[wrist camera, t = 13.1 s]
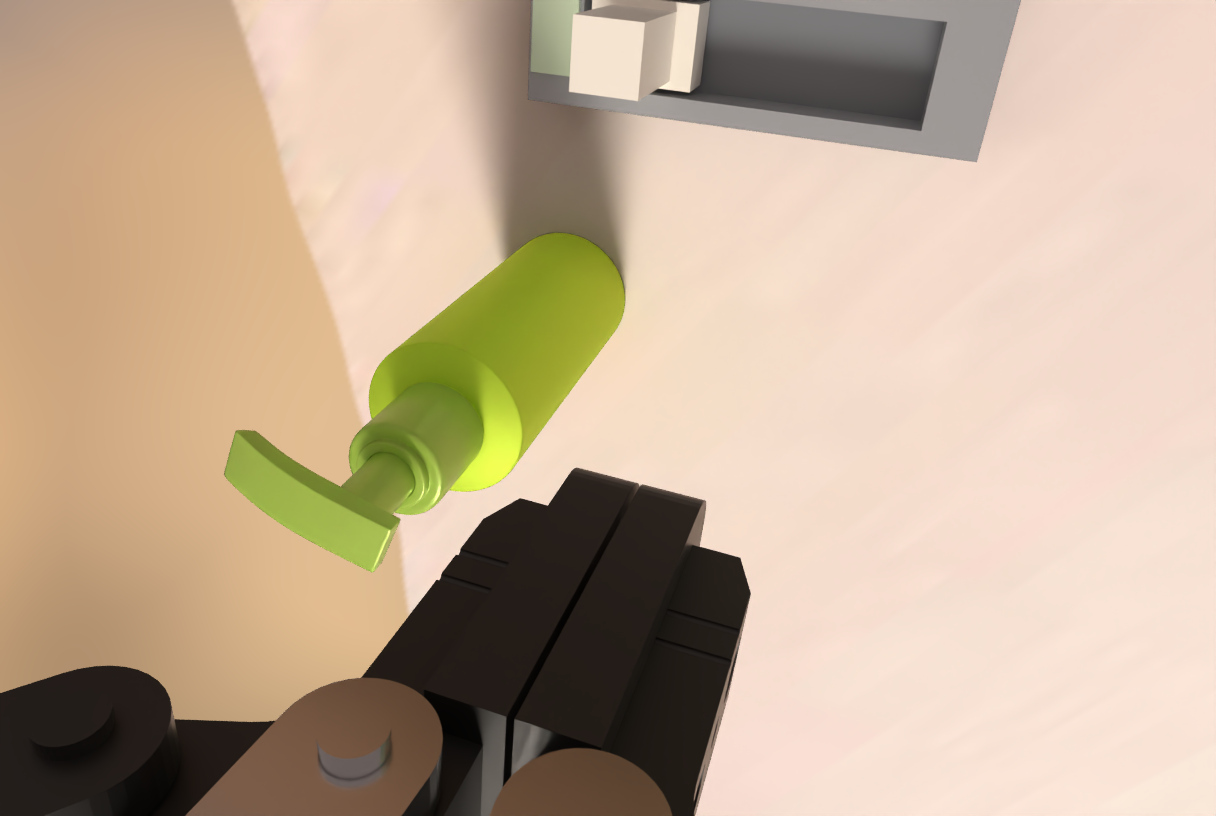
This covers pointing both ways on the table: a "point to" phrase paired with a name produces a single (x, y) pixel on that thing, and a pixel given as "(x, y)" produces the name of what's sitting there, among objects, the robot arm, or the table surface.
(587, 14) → the tab
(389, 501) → the soap dispenser
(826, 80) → the switch bank
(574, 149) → the table surface
